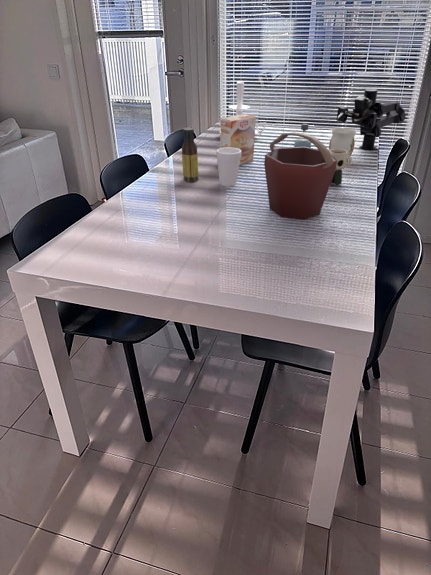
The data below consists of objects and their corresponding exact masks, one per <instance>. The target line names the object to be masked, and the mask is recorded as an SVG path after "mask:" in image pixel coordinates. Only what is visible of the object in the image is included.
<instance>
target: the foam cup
mask: <svg viewBox="0 0 431 575" xmlns="http://www.w3.org/2000/svg"><path fill="white" fill-rule="evenodd" d="M240 158H241V150H240V149H238V148H232V147H225V148H220V147H219V148H218V149H216V160H217V168H218V178H219V185H220V186H222V187H228V188H230V187H234V186H236V185H237V183H238V182H237V181H238V175H239V169H240V165H239V164H240Z"/></svg>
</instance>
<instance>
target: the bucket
mask: <svg viewBox="0 0 431 575" xmlns="http://www.w3.org/2000/svg"><path fill="white" fill-rule="evenodd" d="M289 136H293V137H294V136H295V137H296V136H297V137H299V138H302V139H307V140H309V141H310V142H311V145H312V144H313V146H314V147H316V148H314V147H311V148H308V147H294V146H289V147H288V146H287V147H286V146H285V147H276V144H279V143H281V142H282V141H284V140H285V139H286V138H287V137H289ZM269 143H270V144H269V149H270V151H269V152H267V153H266V154H264V162H263V163H264V164H263V166H264V172H265V174H264V175H265V180H266V188H267V189H266V190H267V196H268V204H269V210H270V211H272V212H273V213H274V214H276V215H277V216H278V217H280V218H281V219H282V218H283V219H290V220H291V219H293V220H302V221H305V220H308V219H311V218H314V217H318V216H320V214H321V211H322V208H323V206H324V203H325V201H326V197H327V195H328V192H329V189H330V187H331V185H330V184H331V182H332V179H333V176H334V173H335V171H336V165H337V160H336V159H335V157H334V156H333V154H332V153H331V152H329V148H327V147H326V146H325V145H324V143H322V141H321V140H320V139H318V138H316V137H315V136H312V135H311V134H307V133H306V132H286V133H282V134H280V135H279V136H278V137H277V138H275V139H274V140H273V141H272V142H269Z"/></svg>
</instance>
